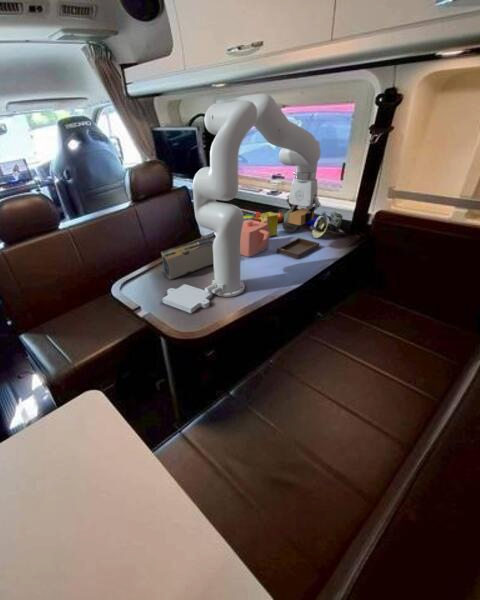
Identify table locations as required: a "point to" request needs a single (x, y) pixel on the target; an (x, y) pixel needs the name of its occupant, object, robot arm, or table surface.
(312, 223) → the figurine
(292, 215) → the tan rectangular block
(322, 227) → the cream rimmed round part
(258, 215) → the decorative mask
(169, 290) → the mounting plate
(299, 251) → the brown wooden tray
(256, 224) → the pink jerry can
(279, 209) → the eraser
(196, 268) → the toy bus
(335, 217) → the toy vehicle
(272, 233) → the supplement box
